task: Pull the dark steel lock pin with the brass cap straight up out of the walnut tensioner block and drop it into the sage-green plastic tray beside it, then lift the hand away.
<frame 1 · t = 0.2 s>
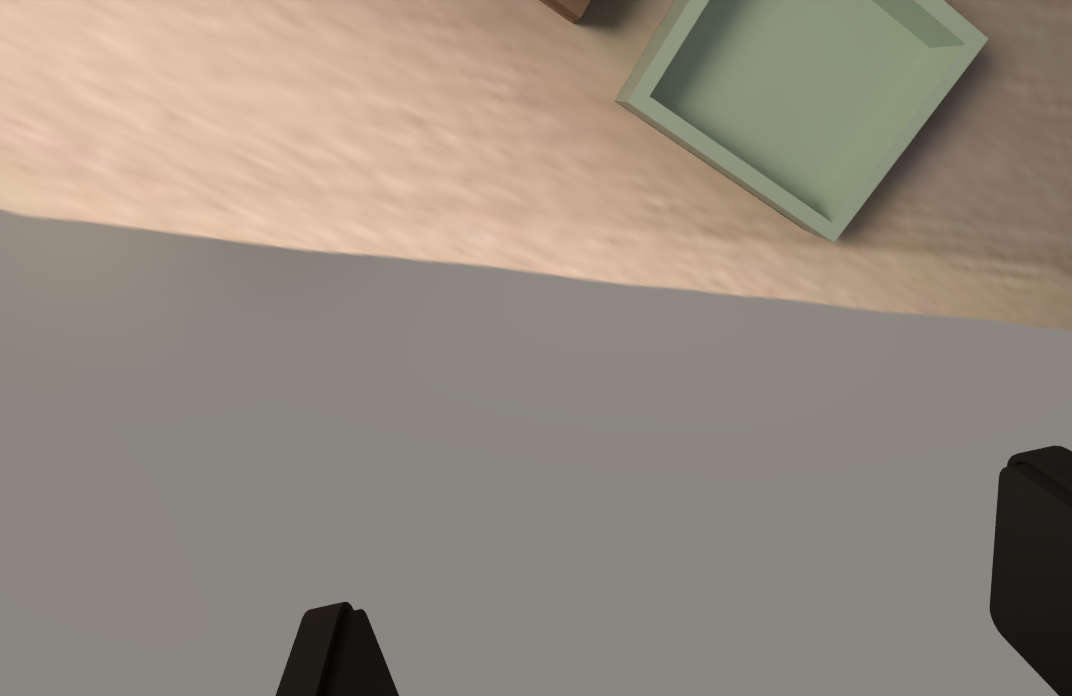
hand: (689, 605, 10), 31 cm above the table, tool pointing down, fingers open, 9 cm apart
tray: (779, 72, 36), on the table
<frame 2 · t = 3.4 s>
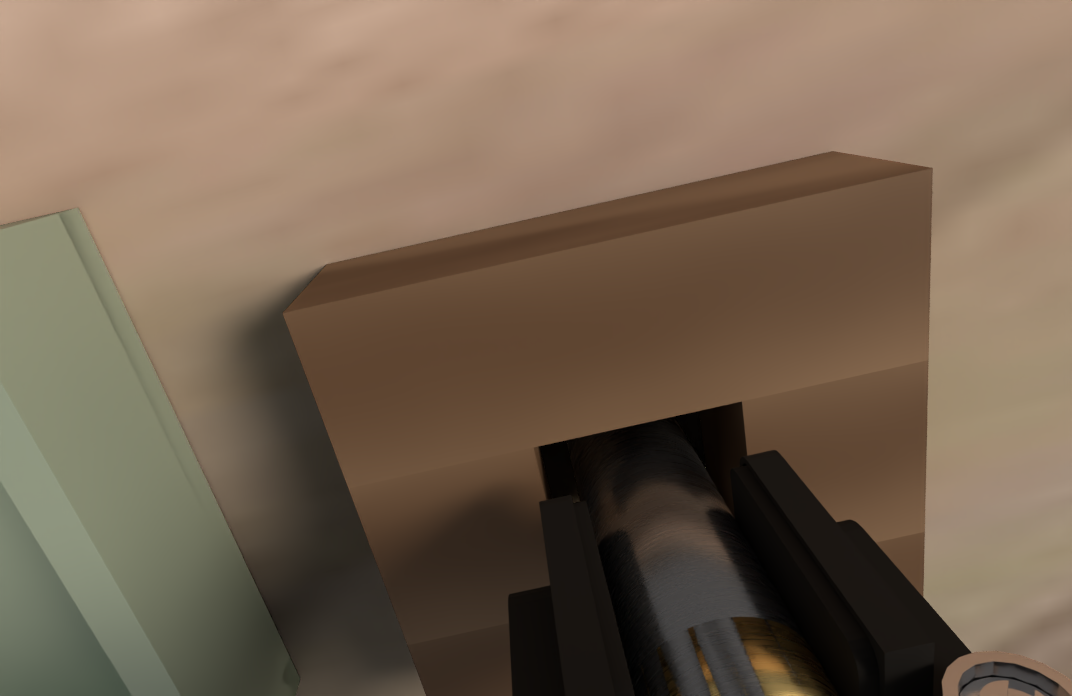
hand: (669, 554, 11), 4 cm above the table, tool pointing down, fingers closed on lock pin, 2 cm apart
lock pin: (619, 430, 14), resting in tensioner block, touching gripper
tensioner block: (619, 430, 14), on the table
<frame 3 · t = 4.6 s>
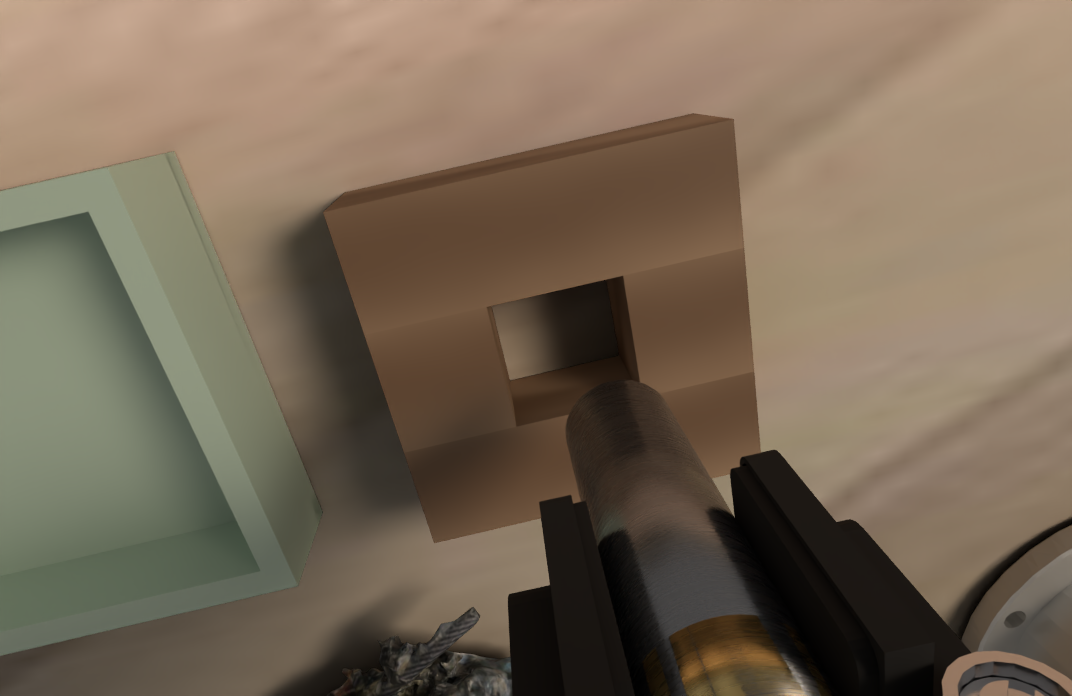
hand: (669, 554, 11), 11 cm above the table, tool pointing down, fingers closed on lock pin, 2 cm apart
lock pin: (619, 429, 14), point 6 cm above the table, touching gripper
tensioner block: (553, 316, 20), on the table
tray: (29, 405, 20), on the table
when the fingers open (7 cm above the table, at t = 9.2 s): lock pin drops 2 cm, resting on tray.
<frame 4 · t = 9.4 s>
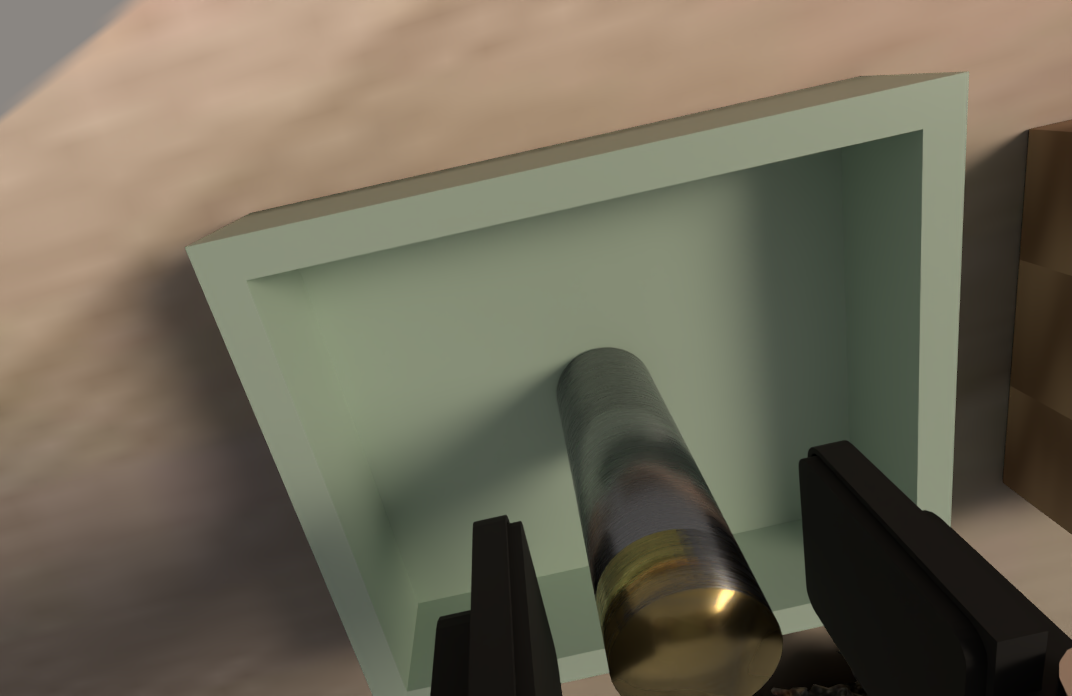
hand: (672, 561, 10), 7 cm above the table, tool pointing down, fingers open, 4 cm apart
lock pin: (604, 391, 16), point 1 cm above the table, touching tray
tray: (599, 382, 17), on the table
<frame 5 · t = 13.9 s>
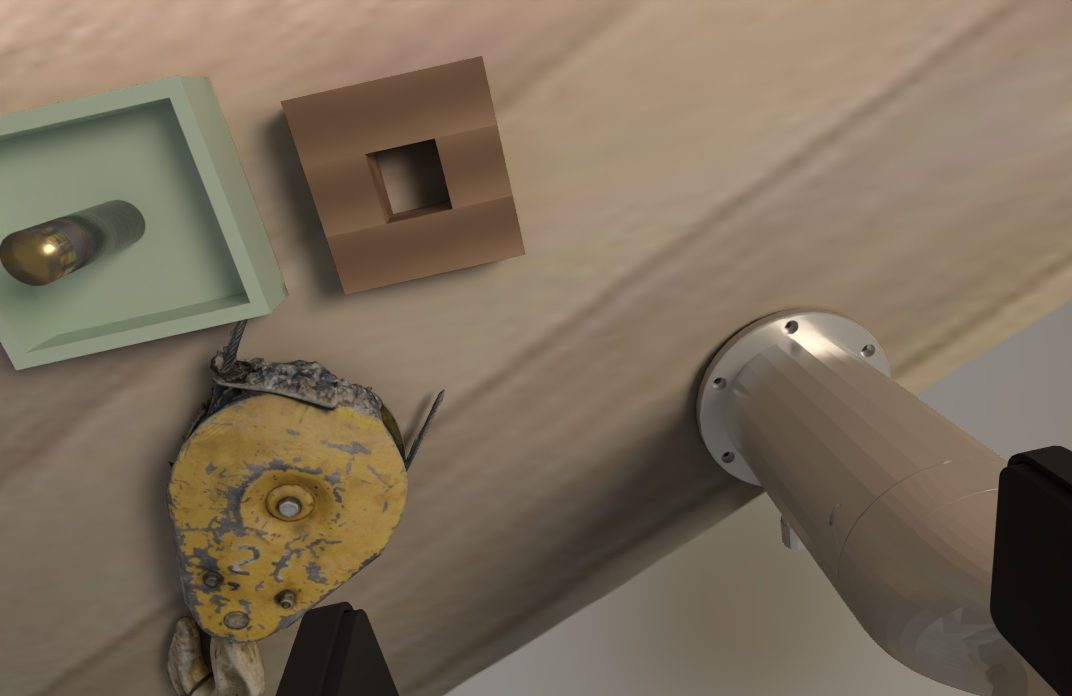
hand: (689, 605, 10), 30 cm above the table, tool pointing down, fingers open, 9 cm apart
pulley block: (273, 525, 44), on the table
lock pin: (121, 222, 35), point 1 cm above the table, touching tray
tensioner block: (415, 175, 36), on the table
tray: (127, 220, 36), on the table
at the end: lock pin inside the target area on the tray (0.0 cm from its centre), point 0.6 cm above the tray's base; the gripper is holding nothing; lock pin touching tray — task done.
